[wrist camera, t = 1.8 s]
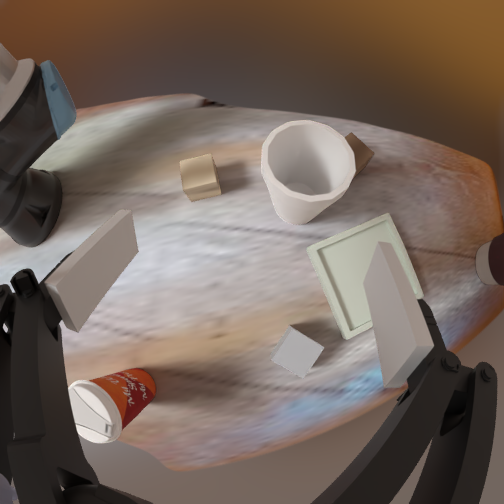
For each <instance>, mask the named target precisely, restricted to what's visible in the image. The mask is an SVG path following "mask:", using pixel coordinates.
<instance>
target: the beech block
mask: <svg viewBox="0 0 504 504" xmlns="http://www.w3.org/2000/svg"><path fill="white" fill-rule="evenodd" d="M179 162H180V171H181V179H182V187H183V191H184V192H185V194H186V195H187V196H188V198H189V199H190V201H191V202H193V201H197V200H201V199H205V198H209V197H213V196H218V195H222V194H221V189H220V184H219V178H218V173H217V168H216V165H215V162H214V160H213V157H212V154H211V153H210V154H206V155H202V156H198V157H194V158H190V159H186V160H183V161H179Z"/></svg>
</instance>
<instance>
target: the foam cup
mask: <svg viewBox="0 0 504 504" xmlns="http://www.w3.org/2000/svg"><path fill="white" fill-rule="evenodd" d="M261 172H262V176H263V178H264V180H265V182H266V185H267V187H268V190H269V193H270V196H271V199H272V202H273V206H274V208H275V210H276V212H277V215H278V216H279V217H280V218H281V219H282V220H284V221H285V222H286V223H290V224H293V225H300V224H306V223H307V222H309V221H310V220H312V219H313V218H315V217H316V216H317V215H318V214H319V213H321V212H322V211H323V210H324V209H325V208H327V207H328V206H330V205H331V204H333V203H334V202H336V201H337V200H338V199H340V198H341V197H342V196H343V195H344V193H345V192H346V190H347V189H348V187H349V185H350V183H351V181H352V179H353V176H354V174H355V172H356V168H355V158H354V152H353V151H352V149H351V147H350V146H349V144H348V143H347V141H346V139H345V138H344V137H343V136H342V135H341V134H339V133H338V132H337V131H335V130H334V129H332V128H331V127H330V126H328V125H325V124H322V123H318V122H315V121H311V120H299V121H289V122H287V123H285V124H283V125H281V126H279V127H277V128H276V129H274V130H272V132H271V133H270V134H269V136H268V137H267V139H266V140H265V142H264V143H263V145H262V158H261Z"/></svg>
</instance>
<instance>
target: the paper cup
mask: <svg viewBox="0 0 504 504" xmlns="http://www.w3.org/2000/svg"><path fill="white" fill-rule="evenodd" d="M68 391H69V397H70V402H71V407H72V412H73V416H74V420H75V424H76V428H77V432H78V433H79V434H80V435H81V436H82V437H83V438H85V439H87V440H89V441H91V442H94V443H109V442H113V441H115V440H116V439H117V438H118V437H119V436H120V434H121V431H122V430H123V429H124V428H125V427H126V426H127V425H128V424H129V423H130V422H131V421H132V420H133V419H134V418H135V417H136V416H137V415H138V414H139V413H140V412H141V411H142V410H143V409H144V408H145V407H146V406H147V405H148V404H149V403H150V402H151V400H152V399H153V398H154V396H155V393H156V386H155V382H154V380H153V379H152V377H151V376H150V375H149V374H148V373H147V372H145V371H144V370H142V369H138V368H133V369H129V370H125V371H121V372H118V373H114V374H111V375H107V376H104V377H100V378H96V379H93V380H89V381H87V380H78V381H75V382H74V383H72V384H71V385H70V387H69V388H68Z"/></svg>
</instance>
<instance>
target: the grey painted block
mask: <svg viewBox="0 0 504 504" xmlns="http://www.w3.org/2000/svg"><path fill="white" fill-rule="evenodd" d="M323 349H324V347H323V346H322V345H320V344H319V343H318V342H316V341H314V340H313V339H311V338H309V337H308V336H306V335H304V334H303V333H301V332H300V331H298V330H296V329H295V328H293V327H291V326H290V325H289V327H288V328H287V330H286V331H285V333H284V334H283V336H282V337H281V339H280V340H279V342H278V343H277V345H276V346H275V348H274V349H273V351H272V352H271V361H273V362H275V363H276V364H278V365H280V366H282V367H283V368H285V369H287V370H288V371H290V372H292V373H294V374H295V375H297V376H299V377H301V378H302V379H304V377H305V376H306V374H307V373H308V371H309V370H310V369H311V367H312V366H313V364H314V363H315V361H316V360H317V358H318V357H319V355H320V354H321V352H322V351H323Z"/></svg>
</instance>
